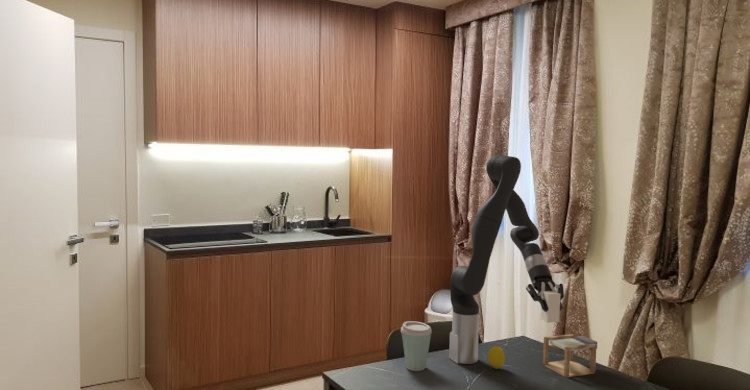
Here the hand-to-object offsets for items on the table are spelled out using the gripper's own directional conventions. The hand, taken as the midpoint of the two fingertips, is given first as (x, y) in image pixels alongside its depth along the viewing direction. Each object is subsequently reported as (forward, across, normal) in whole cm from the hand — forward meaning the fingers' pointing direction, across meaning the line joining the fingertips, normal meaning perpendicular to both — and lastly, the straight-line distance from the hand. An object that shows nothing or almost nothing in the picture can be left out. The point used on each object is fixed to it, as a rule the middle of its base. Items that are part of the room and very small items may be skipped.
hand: (553, 310), depth 186 cm
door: (+11, +6, +5) cm, 14 cm away
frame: (+17, +4, +10) cm, 20 cm away
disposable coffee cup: (+11, -48, +18) cm, 52 cm away
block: (+2, 0, +4) cm, 5 cm away
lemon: (+14, -21, +14) cm, 29 cm away
